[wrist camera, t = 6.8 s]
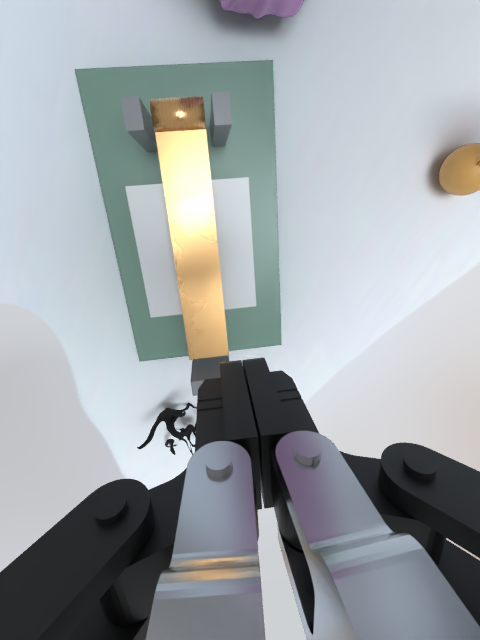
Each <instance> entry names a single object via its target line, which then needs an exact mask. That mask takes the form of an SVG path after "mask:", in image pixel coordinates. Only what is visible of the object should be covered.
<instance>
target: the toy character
mask: <svg viewBox="0 0 480 640" xmlns="http://www.w3.org/2000/svg"><path fill="white" fill-rule="evenodd" d="M219 1H220V2H221V6H222V9H223V10H224V11H228V10H231V11H234V12H237V13H249V14H251V15H252V16H253V17H254V18H256V19H259V18H261V17H262V16H264V15H266V14H274V15H276V16H279V17H291V16H293V15H294V14H296V13H297V12H298V10H299V9H300V7H301V6H302V4H303V2H304V0H219Z"/></svg>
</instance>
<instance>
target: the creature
mask: <svg viewBox="0 0 480 640" xmlns="http://www.w3.org/2000/svg"><path fill="white" fill-rule="evenodd" d="M189 406H192V407H193V408H196V407H194V406H193V405H192V404H190V403H188V404H187V406H186V408H185V409H183V410H175V409H170V408H166V409H165V410H164V411H162V412H161V413H160V414H159V416H158V418H157V420H156V422H155V424H154V425H153V427H152V429H151V431H150V434H149V436H148V438H147V440H146V441H145V442H144V443H143V444H142V445H141V446H140V447H137V448H138V449H142V448H143V447H145V446H146V445H147V444H148V443H149V442H150V441H151V440H152V438H153V436H154V433H155V430H156V427H157V426H158V424H159V423H160V422H161V421H165V423H166V426H167V430H168V431H169V432H170V433H171V435H173V436H174V437H176V438H178V439H179V441H180V439H181V440H184V441H185V442H186V443H187V441H186V440H185V439H183V437H184V436H186V437H187V438H188V440H189V442H190V435H191V433H192V432H193V433H194V435H195V437H196V433H195V430H196V424H195V428H194V426H193V425H188V426H187V427H186V428H185V429H184V428H182V429H180V430H181V432H180V433H179V432H178V431H176V429H175V427H174V422H175V421H176V419H177V418H178V417H183V416H184V415H185V410H187V409H188V408H189ZM183 411H184V413H182V412H183ZM168 443H169V444H170V446H167V445H168ZM173 443H174V440H173V439H168V440H167V441H166V443H165V446H166V447H170V450H171V452H172V453H173V454H174V455H175V451H174V448H173ZM190 443H191V442H190ZM191 445H192V446H193V447H195V445H193V444H192V443H191ZM191 445H190V446H191ZM174 446H176V445H174ZM187 446H188V444H187ZM188 448H189V447H188ZM189 450H190V449H189ZM190 452H191V453H192V450H190ZM192 455H193V453H192Z"/></svg>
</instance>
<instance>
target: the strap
mask: <svg viewBox="0 0 480 640" xmlns="http://www.w3.org/2000/svg"><path fill="white" fill-rule="evenodd" d="M150 110H151V117H152V122H153V127H154V131H155V135H156V142H157V149H158V155H159V162H160V168H161V175H162V182H163V188H164V195H165V201H166V208H167V214H168V221H169V228H170V234H171V241H172V247H173V254H174V260H175V267H176V274H177V280H178V287H179V293H180V300H181V306H182V313H183V320H184V326H185V333H186V339H187V346H188V352H189V359H190V360H192V359H200V358H208V357H217V356H225V355H229V350H228V341H227V331H226V321H225V311H224V301H223V291H222V282H221V272H220V262H219V252H218V242H217V232H216V223H215V213H214V203H213V193H212V183H211V173H210V163H209V154H208V144H207V134H206V123H205V112H204V102H203V96H193V97H175V98H156V99H150Z"/></svg>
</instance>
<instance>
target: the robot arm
mask: <svg viewBox="0 0 480 640" xmlns="http://www.w3.org/2000/svg"><path fill="white" fill-rule="evenodd" d="M242 363H243V367H242ZM220 374H221V378H213V379H205V380H204V381H203V383H202V384H201V386H200V387H199V389H198V403H197V421H196V442H195V453H194V454H193V455H192V457H191V458H190V460H189V462H188V465H187V468H186V469H185V470H184V471H183V472H182V473H181V474H180V475H178V476H177V477H175V478H174V479H172V480H170V481H168V482H166V483H164V484H161V485H159V486H157V487H154V488H152V489H150V490H148V489H147V488H146V486H145V485H144V484H143V483H141V482H139V481H137V480H133V479H120V480H116V481H113V482H110V483H107V484H105V485H103V486H101V487H100V488H98V489H97V490H95V491H94V492H93V493H91V494H90V495H89V496H88V497H87V498H86V499H84V500H83V501H82V502H81V503H80V504H79V505H77V507H75V508H74V509H73V510H72V511H71V512H69V513H68V514H67V515H66V516H65V517H64V518H63V519H61V520H60V521H59V522H58V523H57V524H56V525H54V526H53V527H52V528H51V529H50V530H49V531H47V532H46V533H45V534H44V535H43V536H42V537H41V538H39V539H38V540H37V541H36V542H35V543H34V544H32V545H31V546H30V547H29V548H28V549H27V550H26V551H24V552H23V553H22V554H21V555H20V556H19V557H18V558H16V559H15V560H14V561H13V562H12V563H11V564H9V565H8V566H7V567H6V568H5V569H4V570H3V571H1V572H0V640H265V628H264V615H263V605H262V591H261V578H260V566H259V556H258V543H257V542H258V537H259V528H258V514H257V510H258V509H262V503H261V493H262V498H263V503H264V508H271V507H274V509H275V513H276V518H277V522H278V539H279V544H280V548H281V551H282V554H283V558H284V561H285V565H286V568H287V572H288V575H289V579H290V582H291V586H292V589H293V593H294V596H295V600H296V603H297V607H298V610H299V614H300V617H301V620H302V624H303V628H304V631H305V634H306V639H307V640H480V561H479V560H478V559H476V558H474V557H473V556H471V555H470V554H468V553H467V552H465V551H463V550H461V549H460V548H459V547H457V546H455V545H454V544H452V543H451V542H449V541H447V540H446V538H448V539H450V540H451V541H453V542H454V543H456V544H458V545H459V546H461V547H463V548H464V549H466V550H468V551H469V552H471V553H472V554H474V555H476V556H477V557H479V558H480V472H479V471H477V470H475V469H473V468H470V467H468V466H466V465H464V464H462V463H459V462H457V461H455V460H453V459H451V458H449V457H446V456H444V455H442V454H440V453H438V452H435V451H433V450H431V449H429V448H426V447H424V446H421V445H417V444H412V443H396V444H393V445H390V446H388V447H387V448H386V449H385V450H384V451H383V453H382V456H381V459H376V458H368V457H360V456H354V455H350V454H346V453H343V452H341V451H339V450H338V449H337V447H336V446H335V444H334V443H333V442H332V441H331V440H329V439H328V438H327V437H325V436H323V435H321V434H319V432H318V430H317V428H316V426H315V424H314V422H313V420H312V418H311V416H310V414H309V412H308V410H307V408H306V406H305V404H304V402H303V400H302V399H301V395H300V393H299V391H297V387H296V385H295V383H294V381H293V379H292V378H291V377H290V376H288V375H287V374H286V373H284V372H283V371H274V372H270V371H269V369H268V366H267V363H266V361H265V358H257V359H248V360H243V362H241V360H239V361H230V362H221V363H220Z"/></svg>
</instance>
